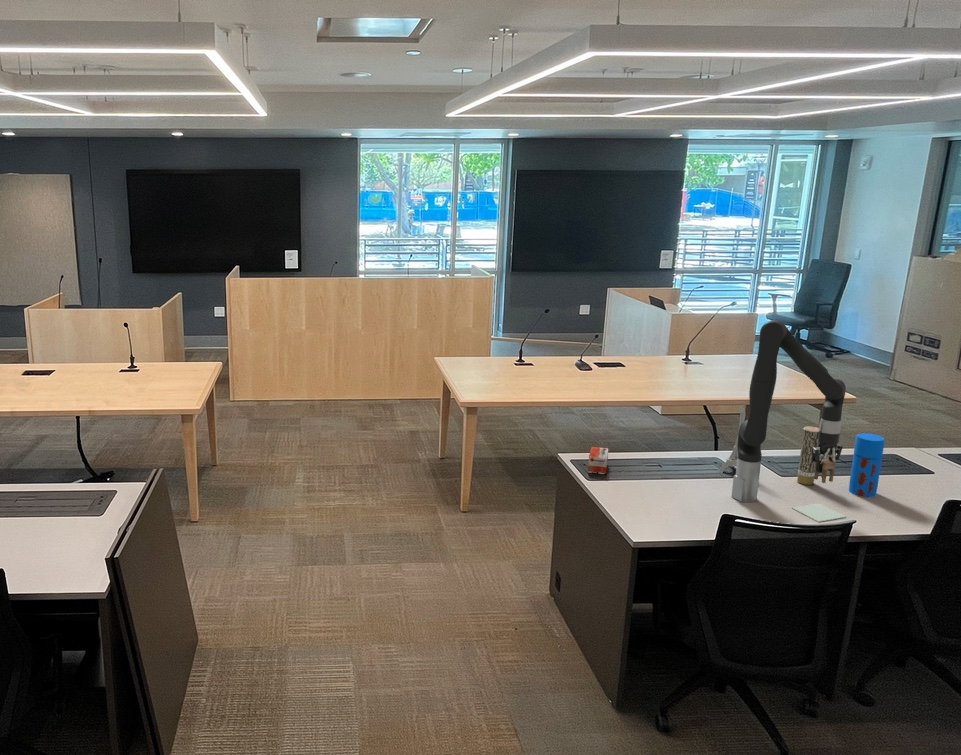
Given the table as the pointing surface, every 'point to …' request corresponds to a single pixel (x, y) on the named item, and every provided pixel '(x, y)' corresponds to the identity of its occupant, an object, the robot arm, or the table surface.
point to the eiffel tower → (734, 455)
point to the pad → (819, 512)
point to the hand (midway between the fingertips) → (824, 471)
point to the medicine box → (598, 459)
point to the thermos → (866, 465)
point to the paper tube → (808, 455)
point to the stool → (826, 465)
